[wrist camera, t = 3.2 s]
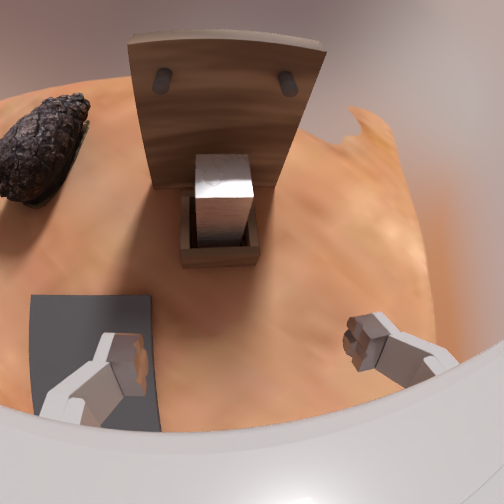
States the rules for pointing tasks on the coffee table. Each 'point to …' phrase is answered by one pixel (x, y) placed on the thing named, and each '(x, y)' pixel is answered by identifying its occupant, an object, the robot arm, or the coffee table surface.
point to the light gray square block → (222, 199)
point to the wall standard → (219, 112)
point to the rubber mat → (90, 348)
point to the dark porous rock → (42, 149)
